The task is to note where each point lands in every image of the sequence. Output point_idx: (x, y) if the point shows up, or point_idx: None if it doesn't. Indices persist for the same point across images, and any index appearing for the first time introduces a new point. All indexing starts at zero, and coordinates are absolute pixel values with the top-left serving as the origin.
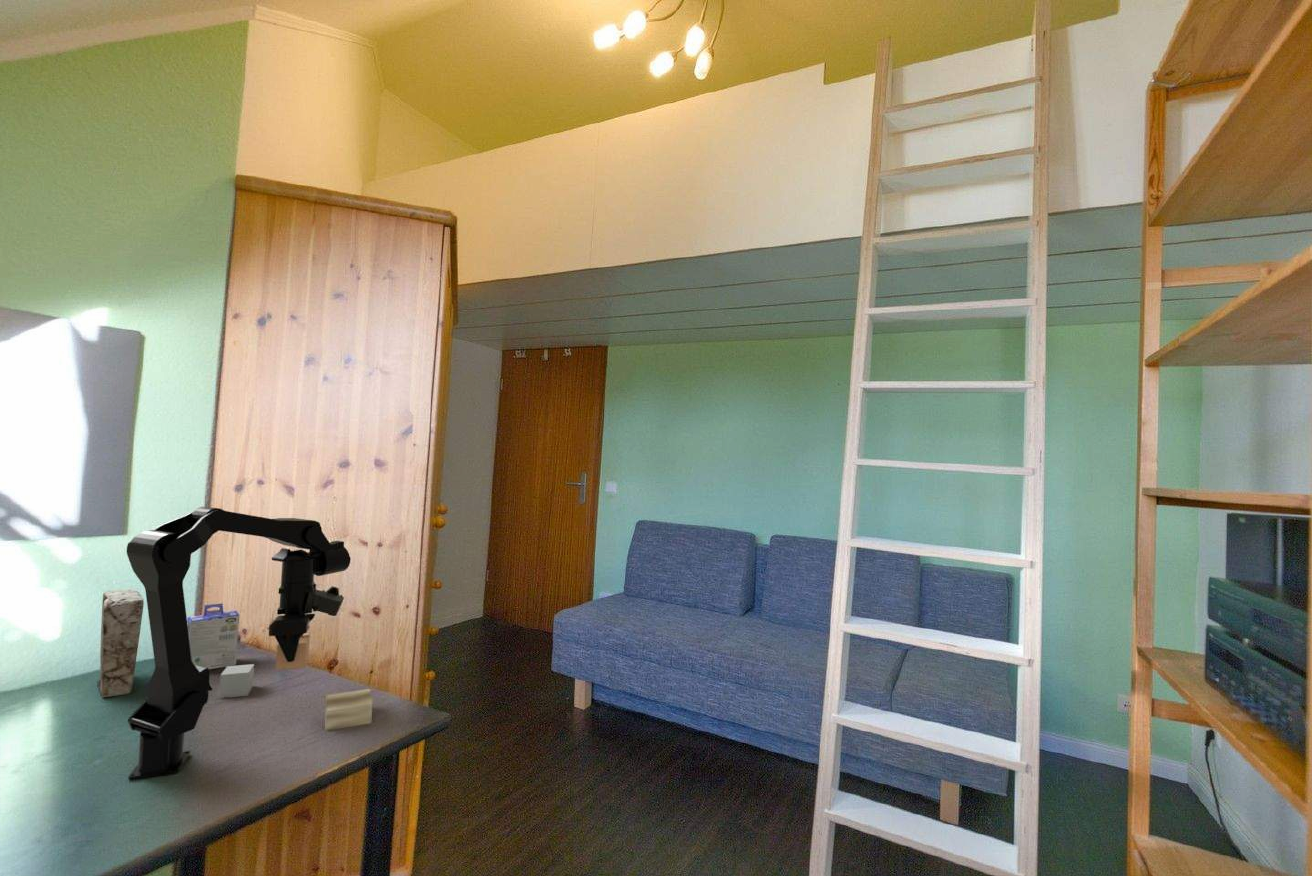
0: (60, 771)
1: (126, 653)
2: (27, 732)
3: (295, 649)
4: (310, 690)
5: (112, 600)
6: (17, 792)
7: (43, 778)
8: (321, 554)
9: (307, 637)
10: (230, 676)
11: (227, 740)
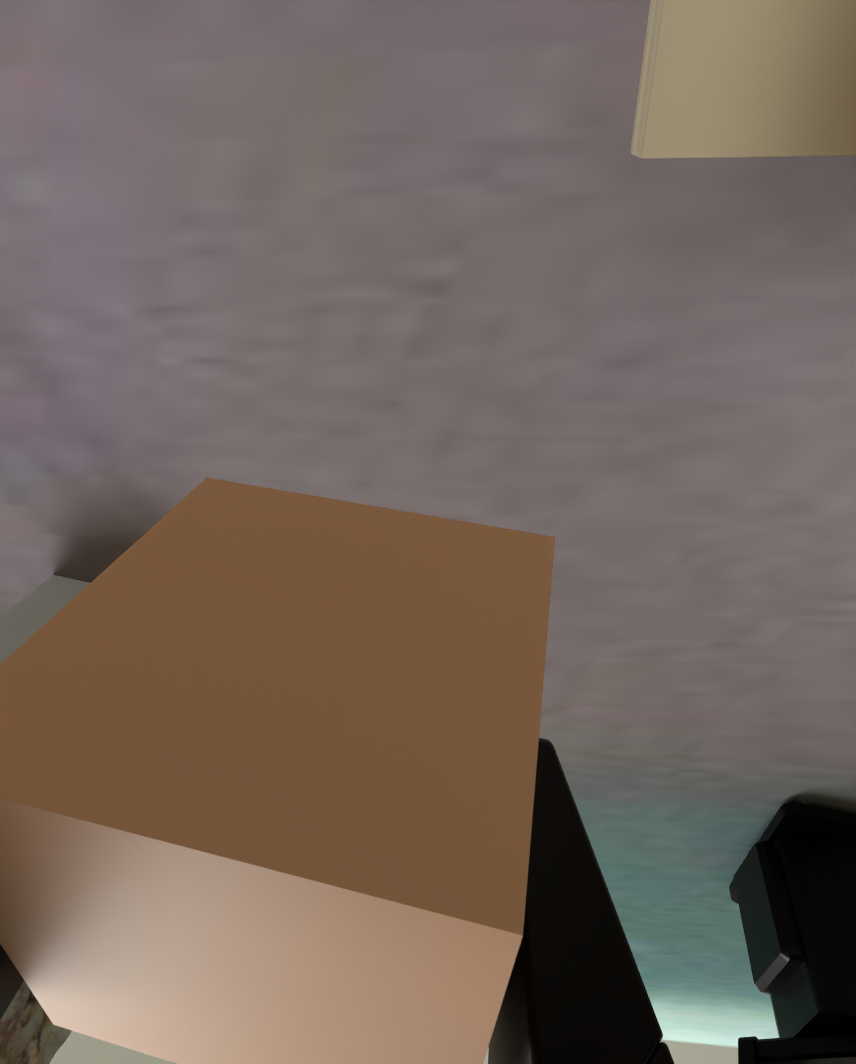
0: (652, 991)
1: (10, 1040)
2: None
3: (630, 968)
4: (129, 284)
5: None
6: (735, 1041)
7: (677, 1011)
8: None
9: (57, 829)
10: None
11: (719, 689)
